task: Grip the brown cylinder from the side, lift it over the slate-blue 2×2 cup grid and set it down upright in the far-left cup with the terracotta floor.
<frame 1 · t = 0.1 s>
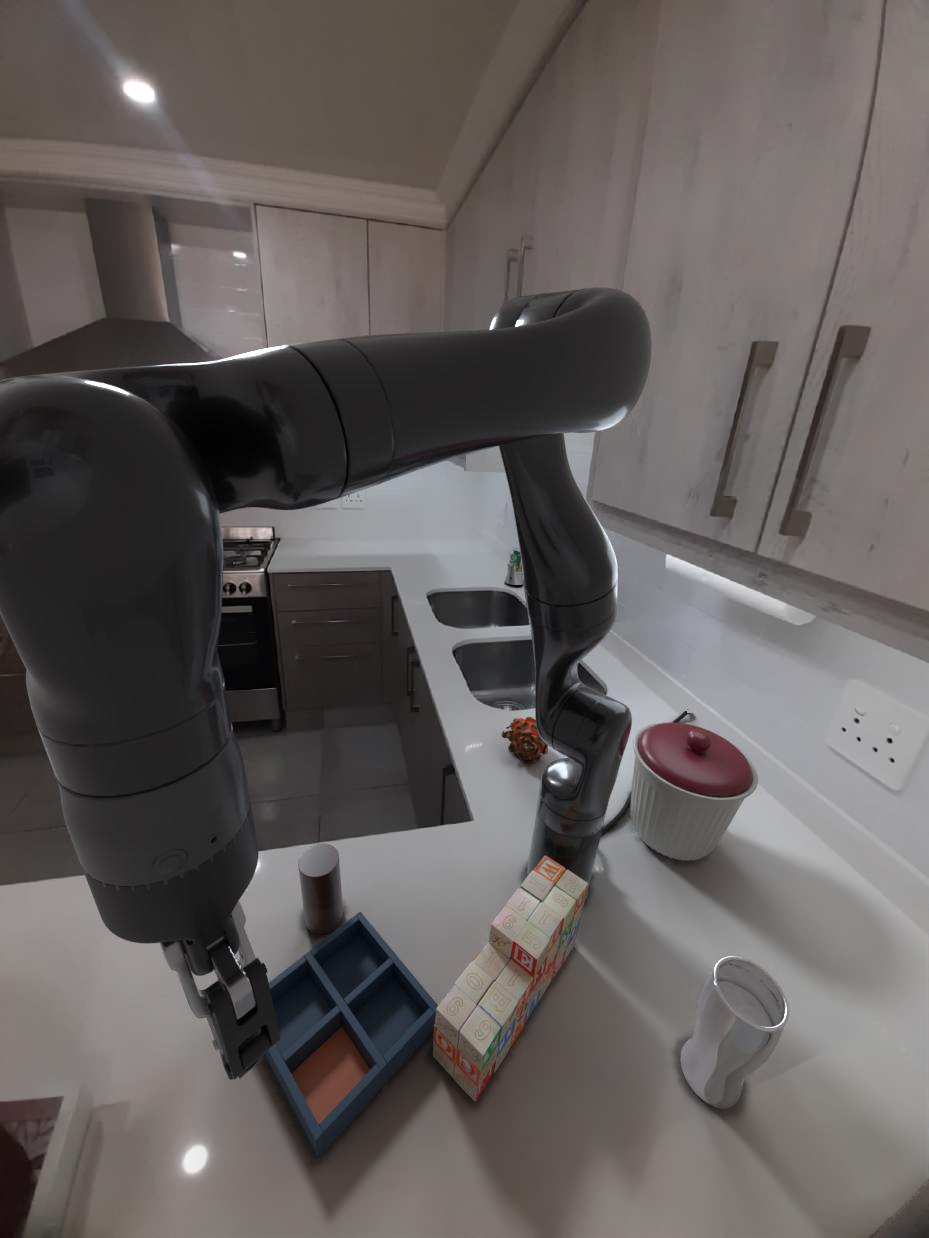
hand: (218, 1001, 31), 29 cm above the worktop, tool pointing down, fingers open, 8 cm apart
beer glass: (709, 1073, 53), on the worktop
grid: (343, 1022, 55), on the worktop
brown cylinder: (324, 916, 67), on the worktop
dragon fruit: (523, 752, 100), on the worktop
stack of blocks: (510, 996, 59), on the worktop
canister: (669, 834, 83), on the worktop
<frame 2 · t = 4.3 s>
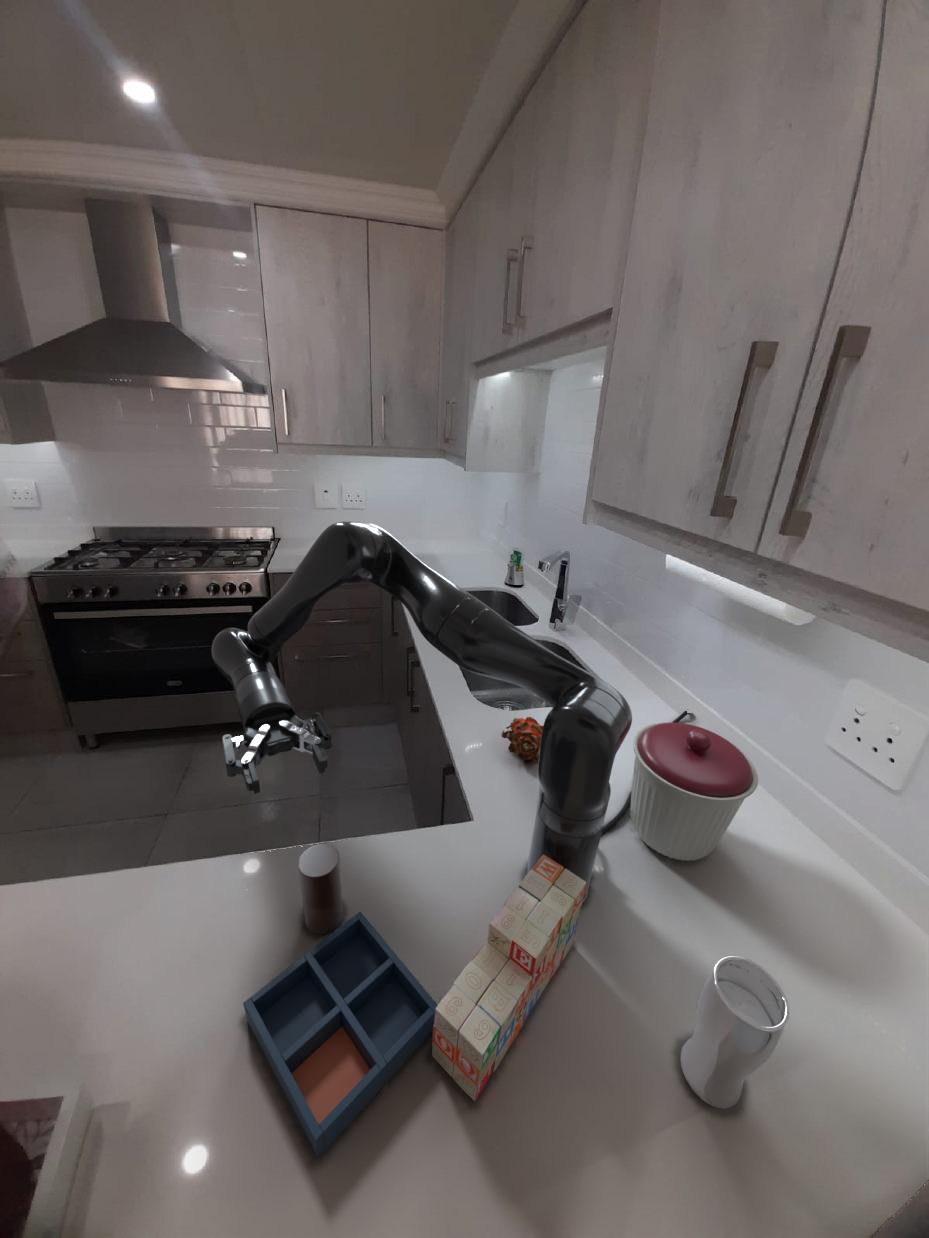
hand: (291, 778, 65), 18 cm above the worktop, tool horizontal, fingers open, 8 cm apart
nothing on the worktop moved.
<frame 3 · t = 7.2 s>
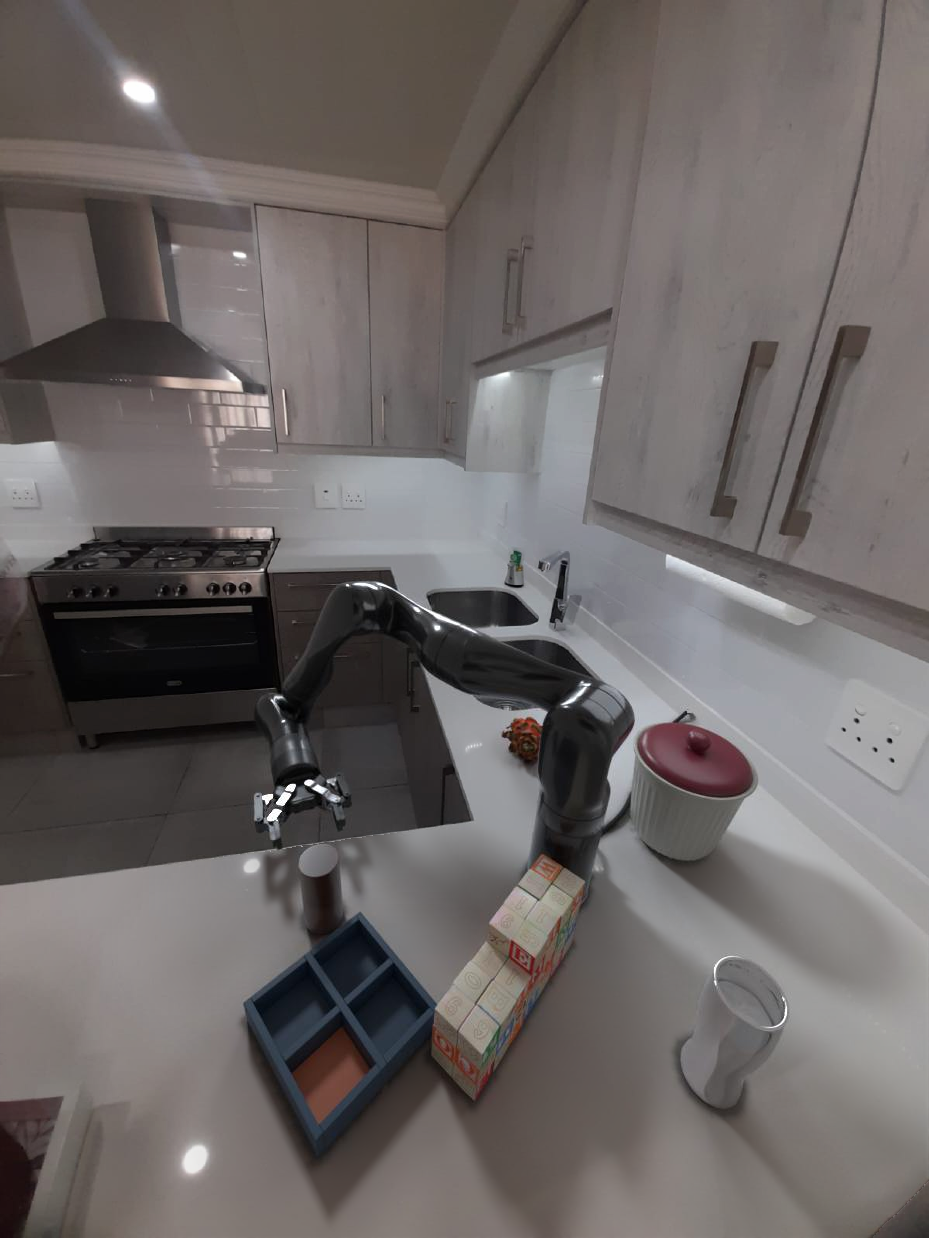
hand: (310, 835, 71), 7 cm above the worktop, tool horizontal, fingers open, 8 cm apart
nothing on the worktop moved.
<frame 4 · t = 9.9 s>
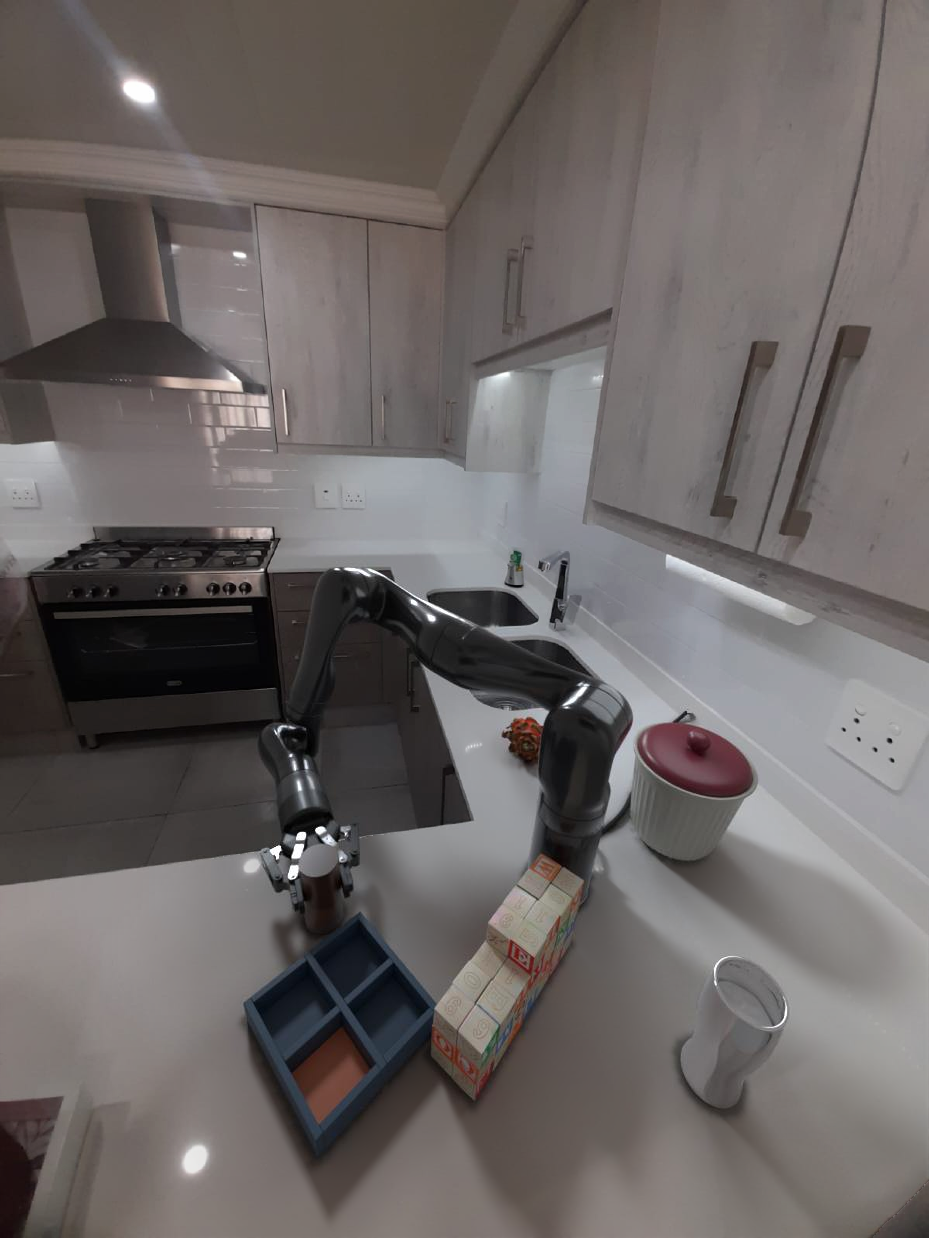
hand: (325, 900, 62), 7 cm above the worktop, tool horizontal, fingers closed on brown cylinder, 5 cm apart
brown cylinder: (324, 916, 67), on the worktop, touching gripper
everything else where it was.
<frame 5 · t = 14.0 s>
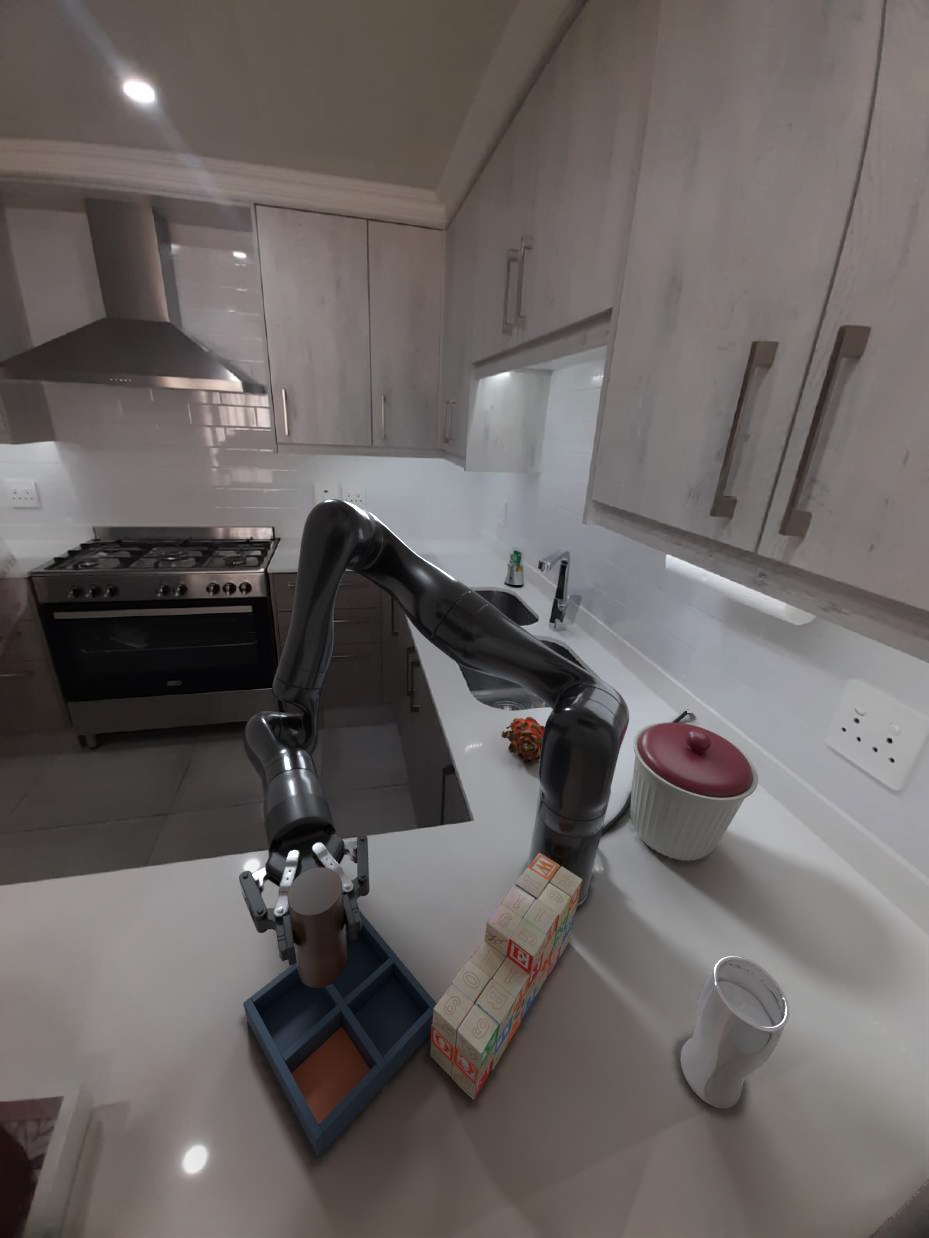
hand: (323, 945, 46), 18 cm above the worktop, tool horizontal, fingers closed on brown cylinder, 5 cm apart
brown cylinder: (322, 961, 51), point 11 cm above the worktop, touching gripper
everything else where it was.
when the fingers open (7 cm above the worktop, at t = 18.1 s): brown cylinder stays where it is, resting on grid.
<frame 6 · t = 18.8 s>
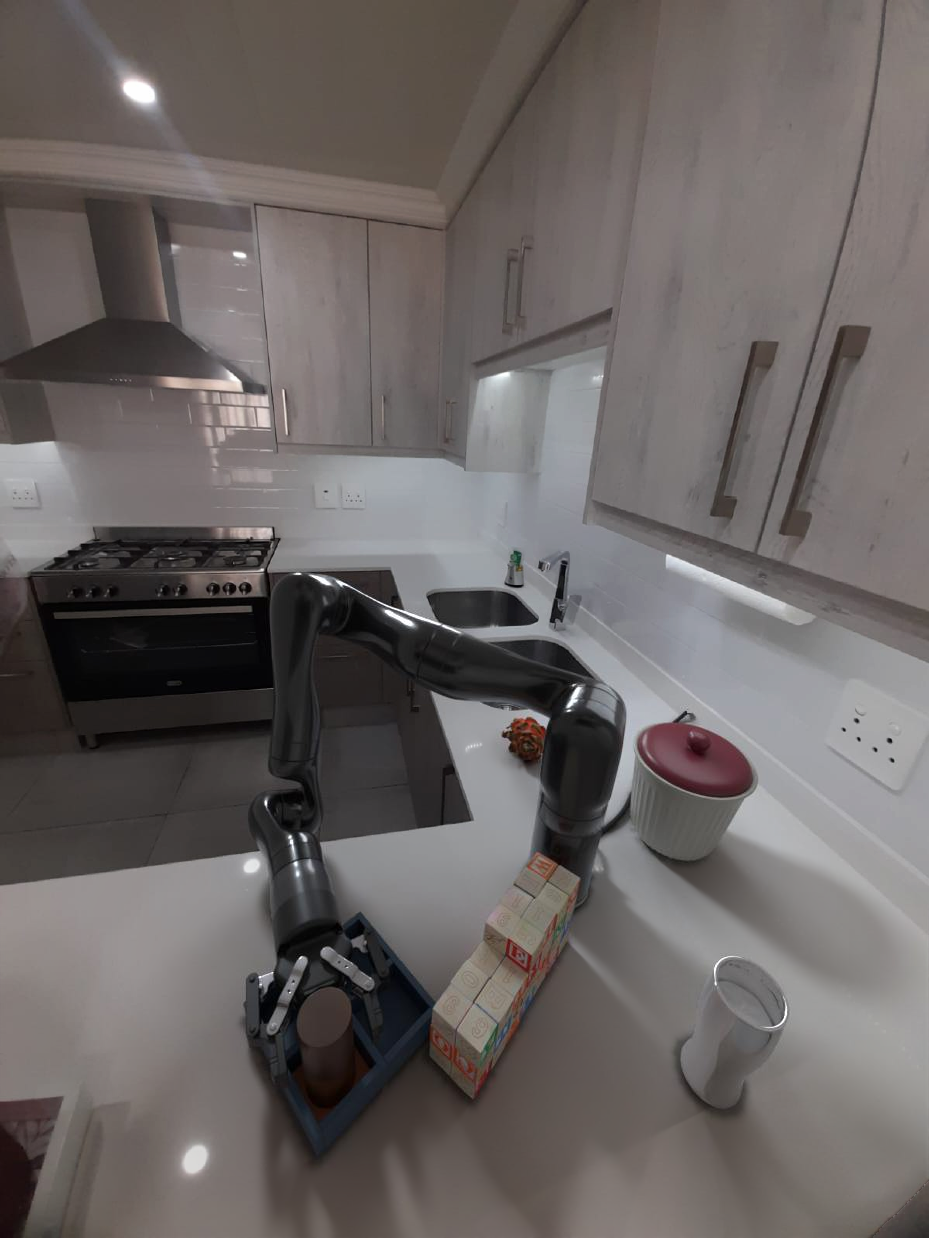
hand: (332, 1060, 46), 8 cm above the worktop, tool horizontal, fingers open, 8 cm apart
brown cylinder: (331, 1076, 50), point 1 cm above the worktop, touching grid
everything else where it was.
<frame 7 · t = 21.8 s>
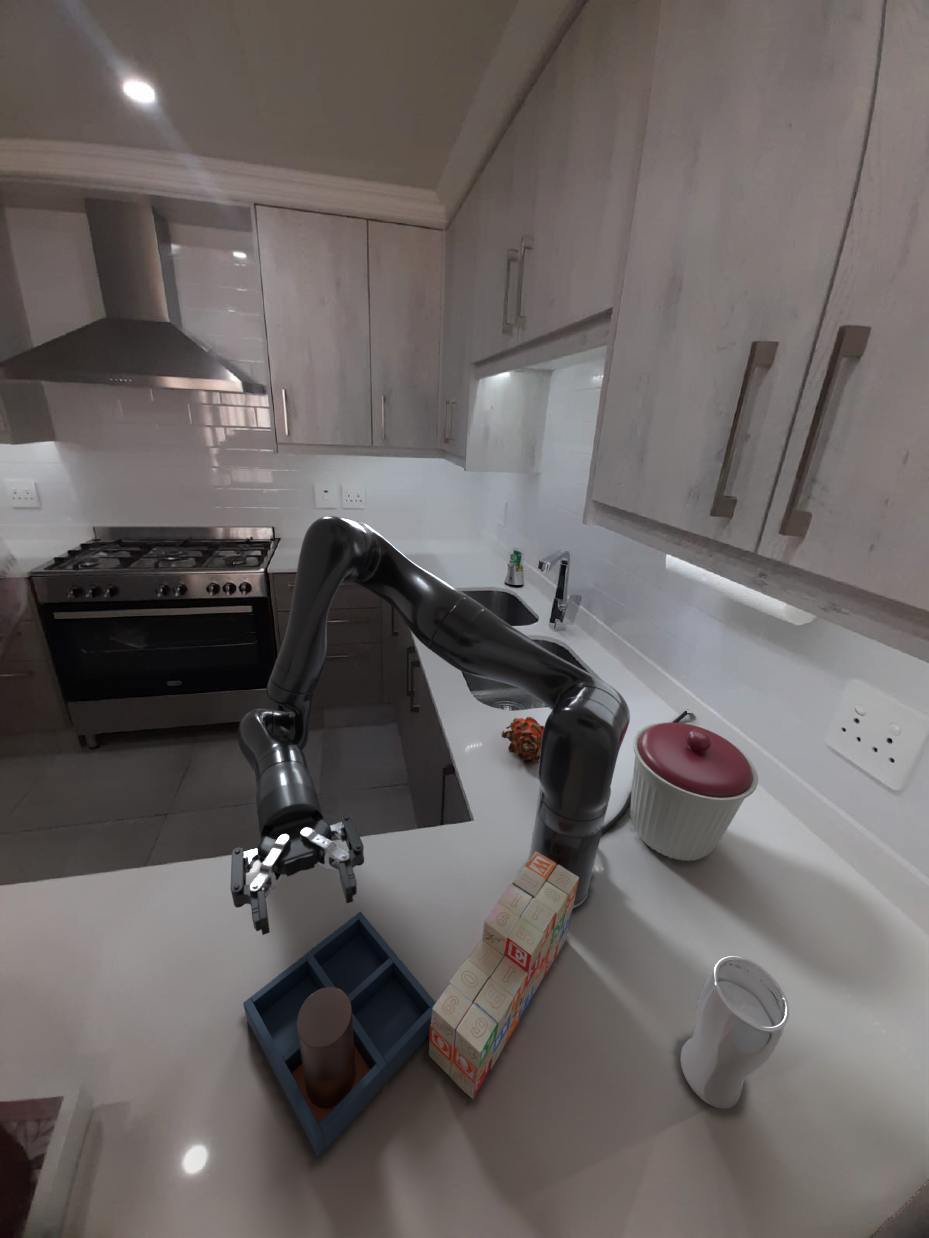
hand: (309, 912, 51), 16 cm above the worktop, tool horizontal, fingers open, 8 cm apart
nothing on the worktop moved.
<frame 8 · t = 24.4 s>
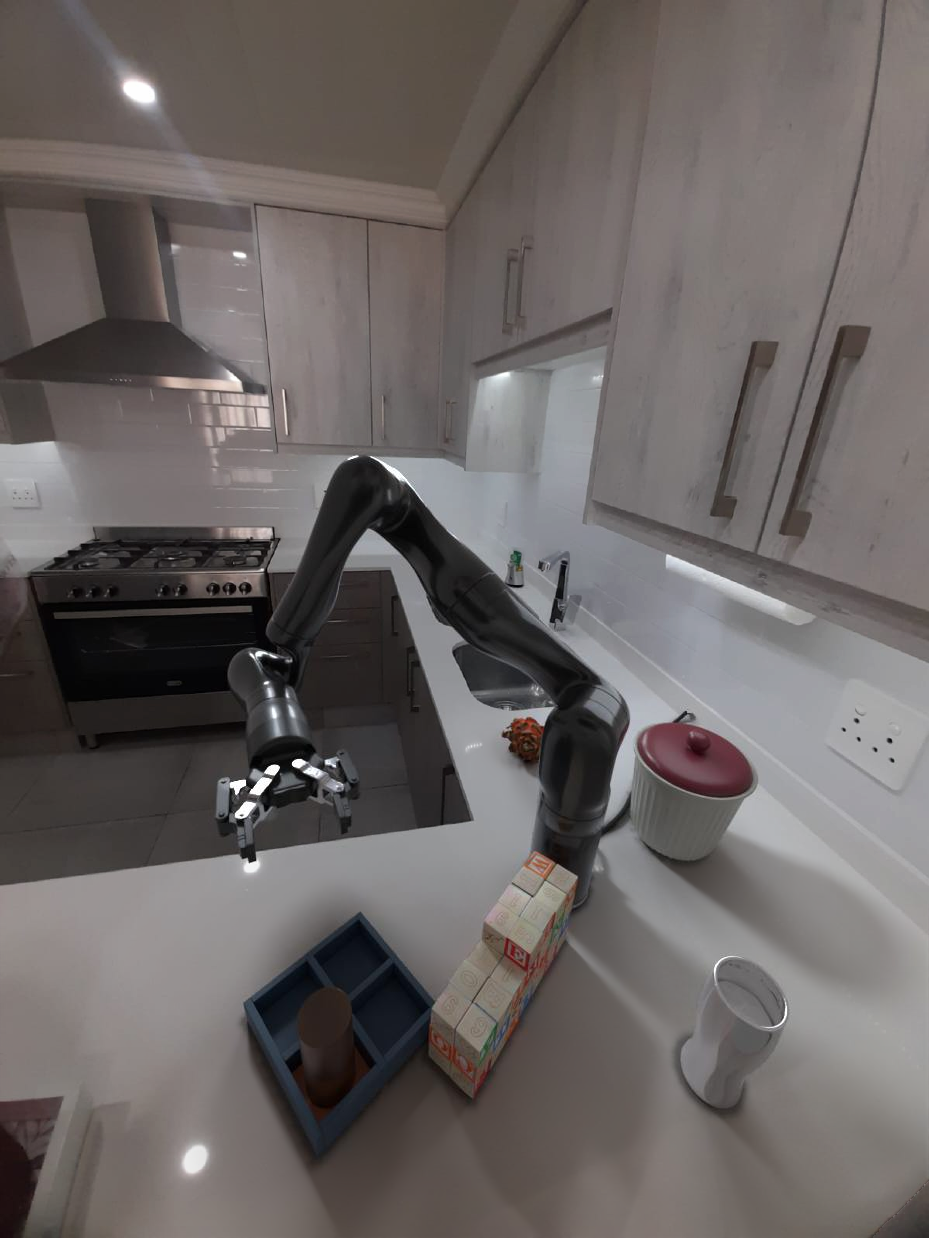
hand: (299, 841, 47), 26 cm above the worktop, tool horizontal, fingers open, 8 cm apart
nothing on the worktop moved.
at the end: brown cylinder 0.2 cm from the target spot in the grid, point 0.7 cm above the grid's base; brown cylinder tilted 0°; the gripper is holding nothing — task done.
